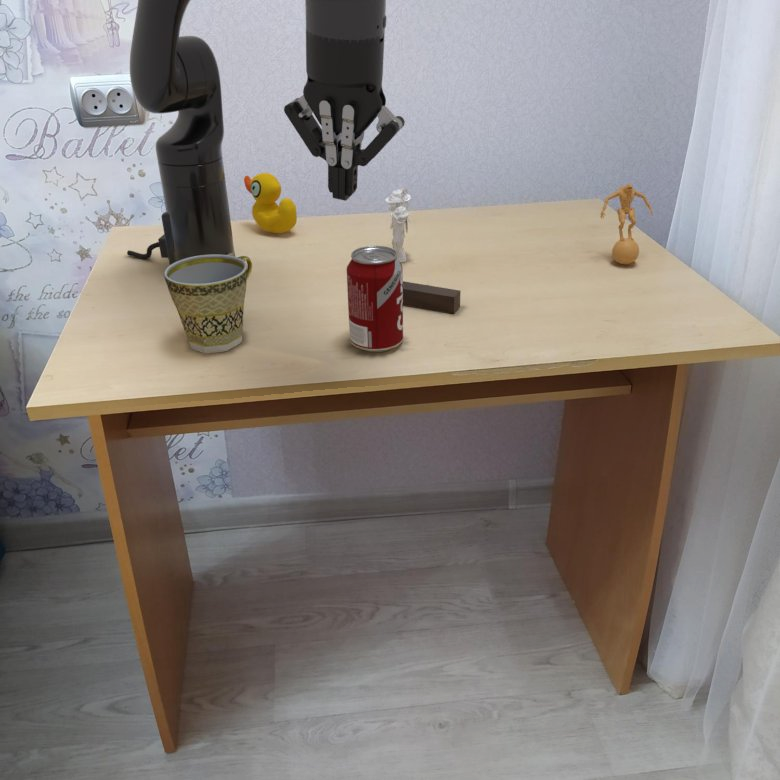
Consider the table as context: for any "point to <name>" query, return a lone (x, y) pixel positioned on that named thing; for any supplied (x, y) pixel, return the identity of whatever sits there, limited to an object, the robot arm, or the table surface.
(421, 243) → the table surface
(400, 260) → the hat wearing toy figure
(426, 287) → the rail
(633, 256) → the figurine
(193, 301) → the ceramic cup
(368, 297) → the soda can
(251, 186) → the duckling
